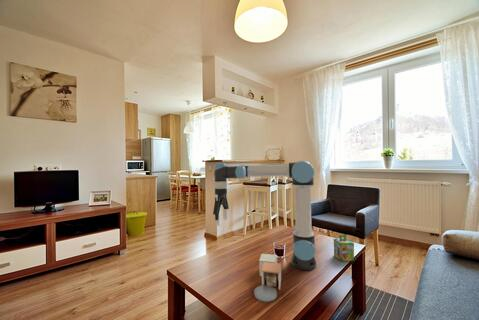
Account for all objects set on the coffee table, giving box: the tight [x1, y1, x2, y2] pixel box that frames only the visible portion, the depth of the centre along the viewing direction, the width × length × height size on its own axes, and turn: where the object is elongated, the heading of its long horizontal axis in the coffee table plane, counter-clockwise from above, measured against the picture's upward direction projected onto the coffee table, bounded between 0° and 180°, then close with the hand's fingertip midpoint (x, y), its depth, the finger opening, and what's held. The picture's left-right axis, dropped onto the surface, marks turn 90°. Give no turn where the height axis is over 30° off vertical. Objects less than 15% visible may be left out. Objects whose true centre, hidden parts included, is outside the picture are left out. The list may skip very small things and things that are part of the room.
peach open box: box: [261, 262, 282, 291], centre depth 113 cm, size 9×9×9 cm
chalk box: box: [333, 234, 355, 262], centre depth 140 cm, size 9×9×15 cm
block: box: [265, 272, 278, 288], centre depth 113 cm, size 5×5×5 cm
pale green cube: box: [258, 253, 278, 277], centre depth 124 cm, size 9×9×9 cm
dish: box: [253, 284, 278, 303], centre depth 104 cm, size 11×11×1 cm
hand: (221, 222), depth 132 cm, fingers open, 13 cm apart
